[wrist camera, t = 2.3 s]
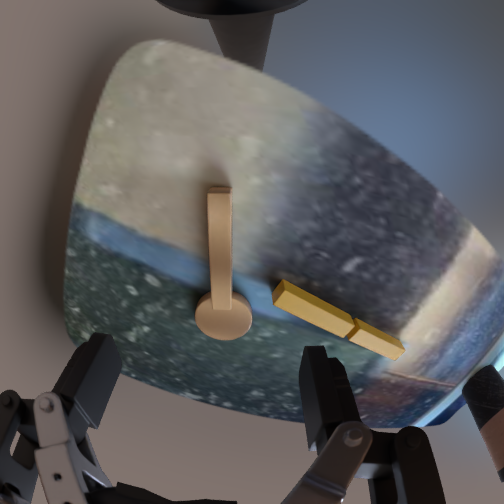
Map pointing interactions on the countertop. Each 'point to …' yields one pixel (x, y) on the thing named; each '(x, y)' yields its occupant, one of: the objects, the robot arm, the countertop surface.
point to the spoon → (222, 275)
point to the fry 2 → (375, 340)
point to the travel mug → (488, 411)
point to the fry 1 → (311, 309)
